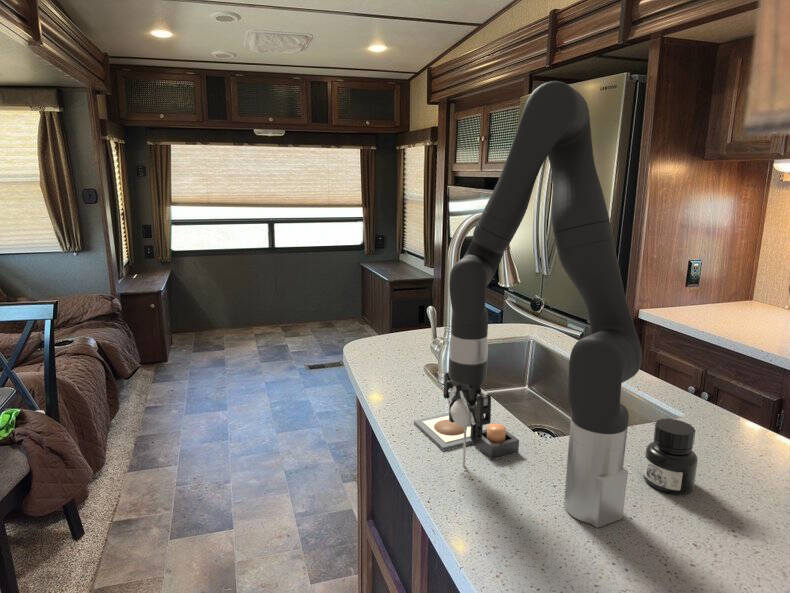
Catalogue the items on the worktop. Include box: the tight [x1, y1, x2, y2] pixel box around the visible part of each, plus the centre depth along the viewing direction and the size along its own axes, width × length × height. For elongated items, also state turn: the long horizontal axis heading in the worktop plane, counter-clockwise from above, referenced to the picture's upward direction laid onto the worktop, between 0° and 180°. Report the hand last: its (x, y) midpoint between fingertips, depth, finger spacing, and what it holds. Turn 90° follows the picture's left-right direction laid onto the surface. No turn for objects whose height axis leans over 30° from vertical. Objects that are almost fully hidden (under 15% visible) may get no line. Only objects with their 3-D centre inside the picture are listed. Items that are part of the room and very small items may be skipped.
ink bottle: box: [642, 418, 699, 495], centre depth 103 cm, size 10×9×12 cm
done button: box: [486, 423, 507, 444], centre depth 116 cm, size 4×4×3 cm
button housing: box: [472, 428, 520, 461], centre depth 117 cm, size 7×7×3 cm
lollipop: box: [450, 399, 477, 467], centre depth 109 cm, size 6×6×15 cm
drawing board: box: [413, 412, 473, 452], centre depth 125 cm, size 14×12×1 cm
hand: (464, 430), depth 109 cm, fingers open, 8 cm apart
